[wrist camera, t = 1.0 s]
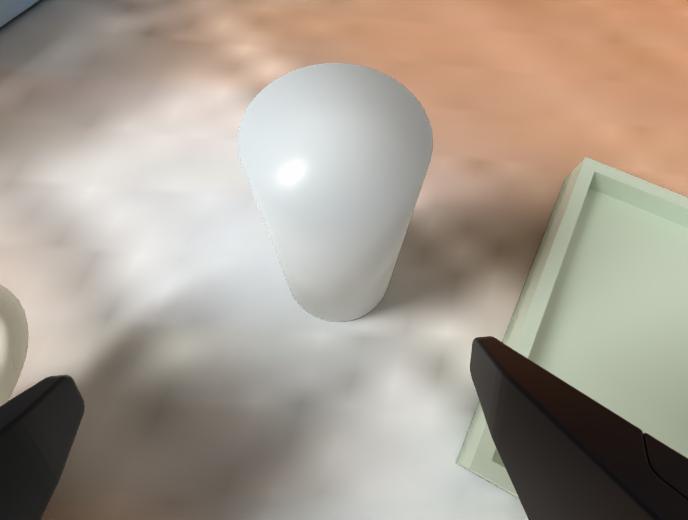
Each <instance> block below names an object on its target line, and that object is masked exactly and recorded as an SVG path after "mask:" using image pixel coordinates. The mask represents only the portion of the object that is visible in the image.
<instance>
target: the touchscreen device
mask: <svg viewBox="0 0 688 520" xmlns="http://www.w3.org/2000/svg"><path fill="white" fill-rule="evenodd" d="M38 1H39V0H0V27H2V26H3V25H5V24H6V23H7V22H9V21H10V20H12V19H13V18H15V17H16V16H18V15H19V14H20V13H22V12H23V11H25V10H26V9H28V8H29V7H30V6H32V5H33V4H35V3H36V2H38Z"/></svg>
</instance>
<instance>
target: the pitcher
mask: <svg viewBox="0 0 688 520" xmlns="http://www.w3.org/2000/svg"><path fill="white" fill-rule="evenodd" d="M27 349H28V324H27V319H26V315H25V311H24V309H23V307H22V305H21V303H20V301H19V300H18V299H17V298H16V297H15V296H14V294H13V293H12V292H11V291H10V290H8V289H7V288H5V287H3V286H2V285H0V406H2V405H3V404H5V403H6V402H8V400H9V398H10V396H11V394H12V392H13V390H14V388H15V385H16V383H17V381H18V378H19V376H20V373H21V371H22V368H23V365H24V362H25V358H26V354H27Z"/></svg>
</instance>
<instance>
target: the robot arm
mask: <svg viewBox="0 0 688 520" xmlns="http://www.w3.org/2000/svg"><path fill="white" fill-rule="evenodd" d="M470 372H471V376H472V379H473V382H474V386H475V389H476V392H477V395H478V398H479V401H480V404H481V407H482V410H483V413H484V416H485V419H486V422H487V425H488V428H489V431H490V434H491V437H492V439H493V442H494V444H495V446H496V449H497V451H498V453H499V455H500V457H501V460H502V462H503V464H504V466H505V468H506V471H507V473H508V475H509V477H510V479H511V482H512V484H513V486H514V488H515V490H516V493H517V495H518V497H519V499H520V501H521V504H522V506H523V508H524V510H525V512H526V515H527V517H528V519H529V520H688V458H687V457H685V456H683V455H682V454H680V453H679V452H677V451H675V450H674V449H672V448H670V447H669V446H667V445H665V444H664V443H662V442H661V441H659V440H657V439H656V438H654V437H653V436H651V435H649V434H648V433H643V431H642V430H641V429H640V428H638V427H636V426H635V425H633V424H632V423H630V422H628V421H627V420H625V419H624V418H622V417H620V416H619V415H617V414H616V413H614V412H612V411H611V410H609V409H608V408H606V407H604V406H603V405H601V404H600V403H598V402H596V401H595V400H593V399H592V398H590V397H588V396H587V395H585V394H584V393H582V392H581V391H579V390H577V389H576V388H574V387H573V386H571V385H569V384H568V383H566V382H565V381H563V380H561V379H560V378H558V377H557V376H555V375H553V374H552V373H550V372H549V371H547V370H545V369H544V368H542V367H541V366H539V365H537V364H536V363H534V362H533V361H531V360H529V359H528V358H526V357H525V356H523V355H521V354H520V353H518V352H517V351H515V350H513V349H512V348H510V347H509V346H507V345H505V344H504V343H502V342H501V341H499V340H498V339H496V338H494V337H491V336H488V337H477V338H475V339H474V340H473V344H472V352H471V361H470ZM83 413H84V401H83V399H82V396H81V394H80V392H79V390H78V388H77V386H76V384H75V382H74V380H73V378H72V377H70V376H69V375H59V376H50V377H47V378H45V379H43V380H42V381H40V382H39V383H37V384H35V385H34V386H32V387H31V388H29V389H27V390H26V391H24V392H23V393H21V394H19V395H18V396H16V397H15V398H13V399H11V400H10V401H8V402H6V403H5V404H3V405H2V406H0V520H41V518H42V516H43V514H44V512H45V510H46V507H47V505H48V503H49V501H50V499H51V497H52V495H53V493H54V490H55V488H56V486H57V484H58V481H59V479H60V476H61V474H62V471H63V469H64V466H65V463H66V461H67V458H68V455H69V452H70V449H71V447H72V444H73V441H74V438H75V436H76V433H77V430H78V427H79V425H80V422H81V419H82V416H83Z"/></svg>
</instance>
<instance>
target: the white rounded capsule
mask: <svg viewBox="0 0 688 520" xmlns="http://www.w3.org/2000/svg"><path fill="white" fill-rule="evenodd" d="M237 144H238V154H239V159H240V163H241V166H242V168H243V171H244V173H245V176H246V178H247V181H248V183H249V186H250V188H251V191H252V193H253V196H254V198H255V201H256V204H257V206H258V209H259V211H260V214H261V216H262V219H263V221H264V224H265V226H266V229H267V231H268V234H269V236H270V239H271V241H272V244H273V246H274V249H275V252H276V254H277V257H278V259H279V262H280V264H281V267H282V269H283V272H284V274H285V277H286V279H287V282H288V284H289V287H290V289H291V292H292V294H293V296H294V298H295V300H296V301H297V302H298V304H299V305H300V306H301V307H302V308H303V309H304V310H306V311H307V312H308V313H310V314H311V315H313V316H315V317H317V318H320V319H322V320H326V321H332V322H345V321H351V320H355V319H358V318H360V317H362V316H364V315H366V314H367V313H369V312H370V311H372V310H373V309H374V308H375V307H376V306H377V305H378V304H379V303H380V301H381V300H382V298H383V297H384V295H385V293H386V290H387V288H388V285H389V282H390V279H391V276H392V273H393V270H394V267H395V264H396V261H397V258H398V255H399V252H400V249H401V246H402V243H403V240H404V237H405V234H406V231H407V228H408V225H409V222H410V219H411V217H412V214H413V211H414V208H415V205H416V202H417V199H418V196H419V193H420V190H421V187H422V184H423V181H424V178H425V175H426V172H427V169H428V166H429V163H430V160H431V155H432V148H433V137H432V129H431V125H430V122H429V119H428V117H427V114H426V112H425V110H424V108H423V107H422V105H421V104H420V102H419V101H418V100H417V98H416V97H415V96H414V95H413V94H412V93H411V92H410V91H409V90H408V89H407V88H406V87H405V86H404V85H402V84H401V83H399V82H398V81H397V80H395V79H393V78H392V77H390V76H388V75H386V74H384V73H382V72H379V71H377V70H375V69H371V68H368V67H365V66H360V65H355V64H346V63H325V64H317V65H312V66H307V67H303V68H300V69H297V70H294V71H292V72H290V73H287V74H285V75H283V76H281V77H280V78H278V79H276V80H274V81H273V82H272V83H270V84H269V85H268V86H266V87H265V88H264V89H263V90H262V91H261V92H260V93H259V94H258V95H257V96H256V97H255V98H254V99H253V101H252V102H251V103H250V105H249V106H248V108H247V110H246V111H245V113H244V116H243V118H242V120H241V124H240V127H239V131H238V140H237Z"/></svg>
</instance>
